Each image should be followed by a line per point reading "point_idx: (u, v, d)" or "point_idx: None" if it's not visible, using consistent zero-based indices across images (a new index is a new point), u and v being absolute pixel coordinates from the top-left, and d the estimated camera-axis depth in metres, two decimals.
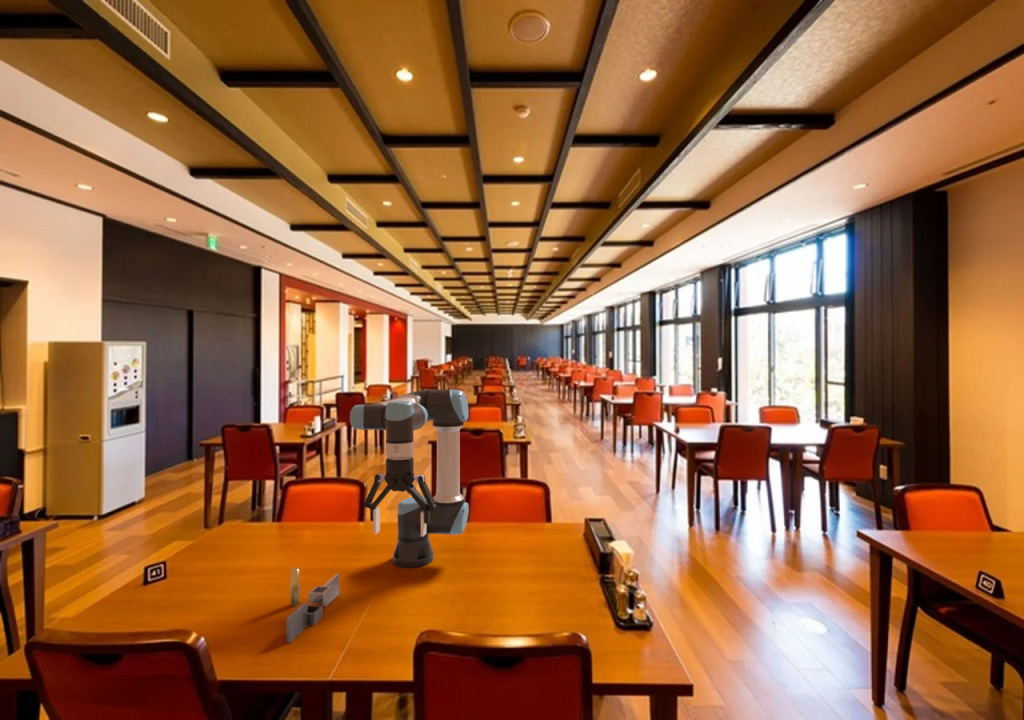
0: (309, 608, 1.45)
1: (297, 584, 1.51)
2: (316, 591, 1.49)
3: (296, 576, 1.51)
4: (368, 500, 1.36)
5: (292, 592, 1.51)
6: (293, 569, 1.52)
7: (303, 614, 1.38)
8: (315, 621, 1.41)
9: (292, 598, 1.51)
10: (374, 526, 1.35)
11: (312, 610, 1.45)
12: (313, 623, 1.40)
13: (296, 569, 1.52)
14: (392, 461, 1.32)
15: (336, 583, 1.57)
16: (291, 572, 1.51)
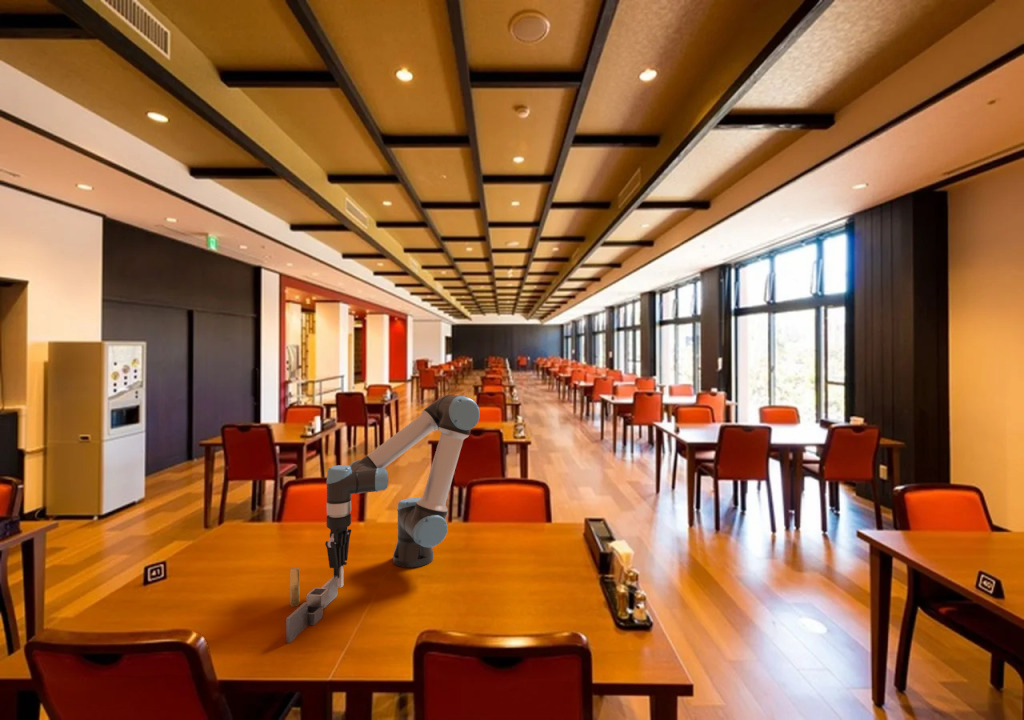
0: (309, 608, 1.45)
1: (297, 584, 1.51)
2: (314, 593, 1.48)
3: (296, 576, 1.51)
4: None
5: (292, 592, 1.51)
6: (293, 569, 1.52)
7: (303, 614, 1.38)
8: (315, 621, 1.41)
9: (292, 598, 1.51)
10: None
11: (312, 610, 1.45)
12: (313, 623, 1.40)
13: (296, 569, 1.52)
14: None
15: (334, 585, 1.55)
16: (291, 572, 1.51)
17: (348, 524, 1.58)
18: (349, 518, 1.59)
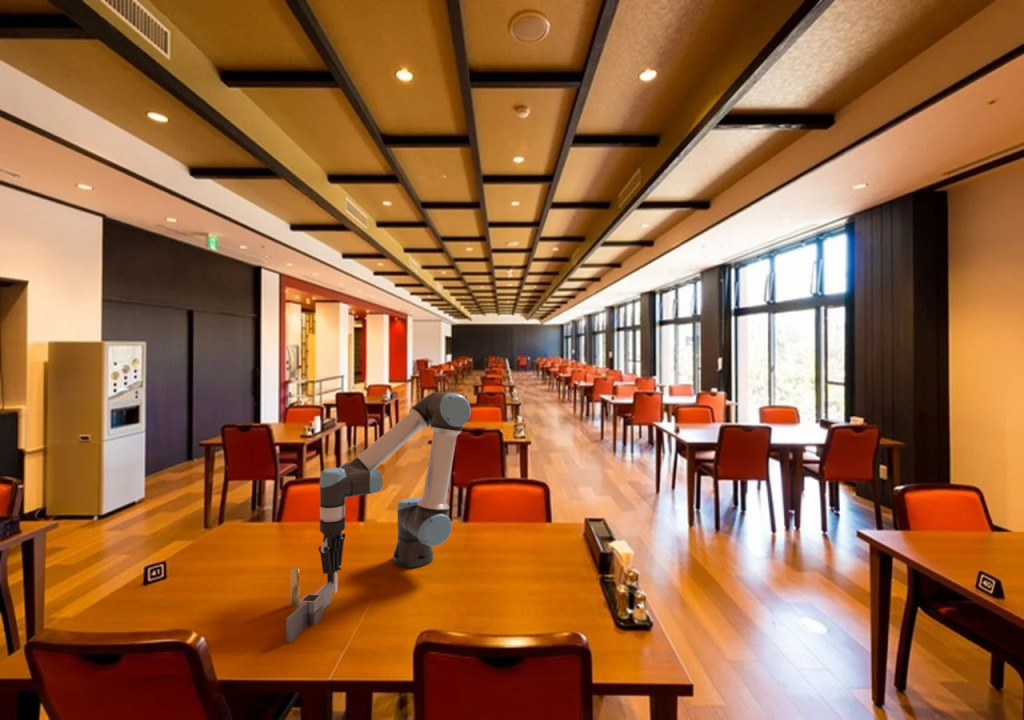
0: None
1: (297, 584, 1.51)
2: (307, 599, 1.44)
3: (296, 576, 1.51)
4: None
5: (292, 592, 1.51)
6: (293, 569, 1.52)
7: (303, 614, 1.38)
8: (315, 621, 1.41)
9: (292, 598, 1.51)
10: None
11: None
12: (313, 623, 1.40)
13: (296, 569, 1.52)
14: None
15: (328, 590, 1.52)
16: (291, 572, 1.51)
17: (342, 528, 1.54)
18: (343, 522, 1.55)
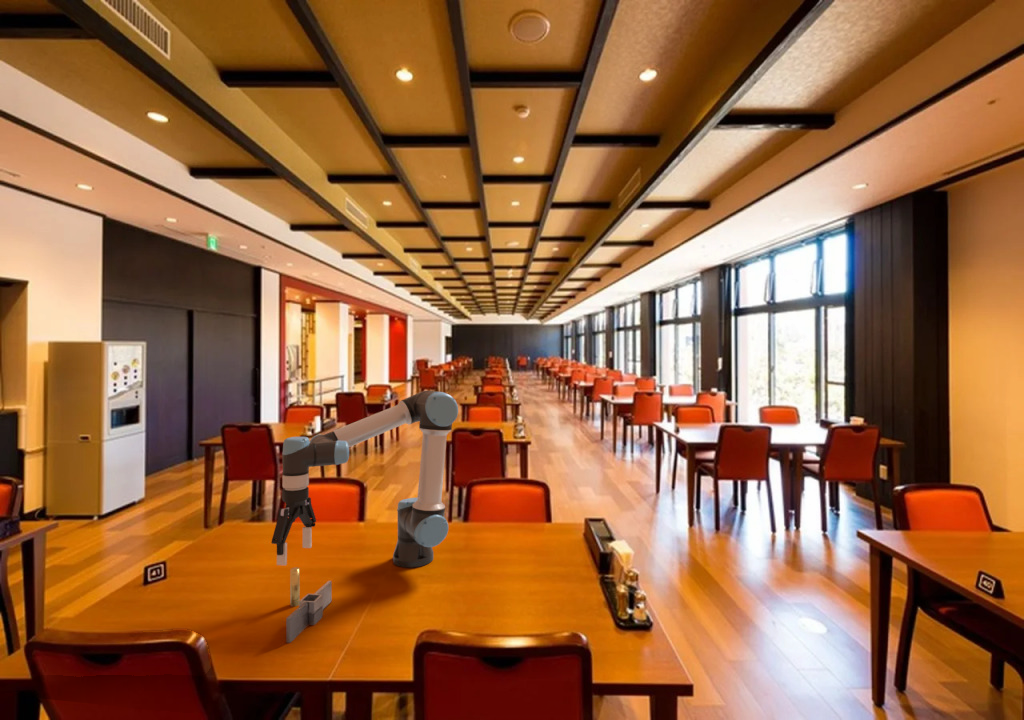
0: None
1: (297, 584, 1.51)
2: (307, 599, 1.44)
3: (297, 576, 1.51)
4: None
5: (292, 592, 1.51)
6: (293, 569, 1.52)
7: (303, 614, 1.38)
8: (315, 621, 1.41)
9: (292, 598, 1.51)
10: None
11: None
12: (313, 623, 1.40)
13: (296, 569, 1.52)
14: None
15: (328, 590, 1.52)
16: (291, 572, 1.51)
17: (305, 498, 1.51)
18: (306, 492, 1.51)
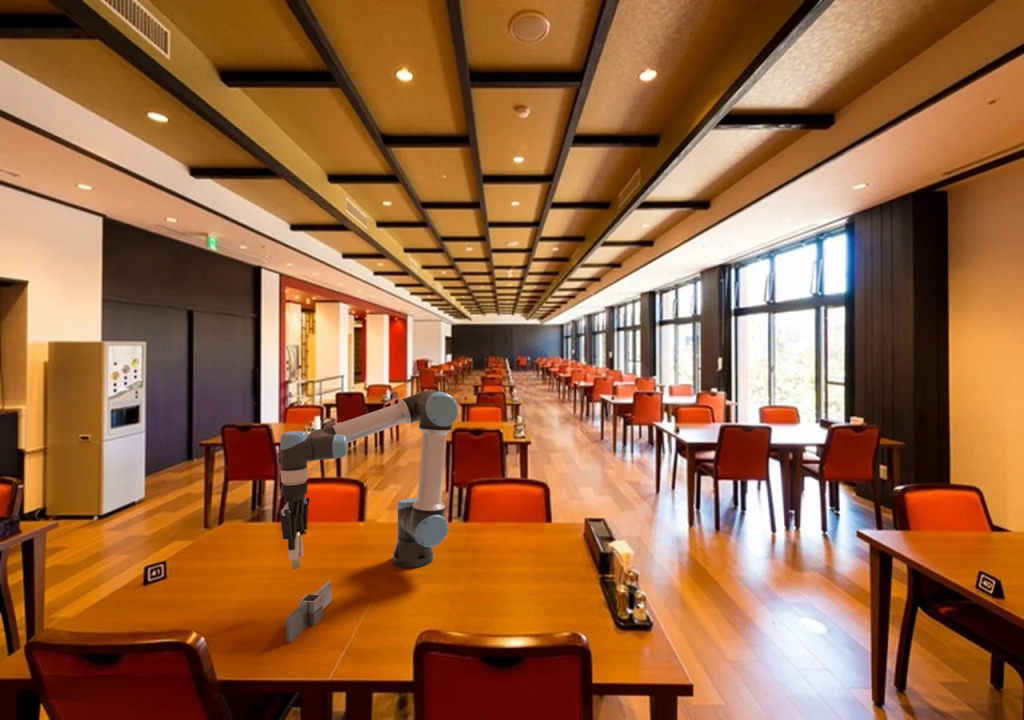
0: None
1: (298, 547, 1.51)
2: (307, 599, 1.44)
3: None
4: None
5: None
6: None
7: (303, 614, 1.38)
8: (315, 621, 1.41)
9: (293, 561, 1.51)
10: None
11: None
12: (313, 623, 1.40)
13: (297, 532, 1.52)
14: None
15: (328, 590, 1.52)
16: None
17: (304, 492, 1.51)
18: (305, 486, 1.51)
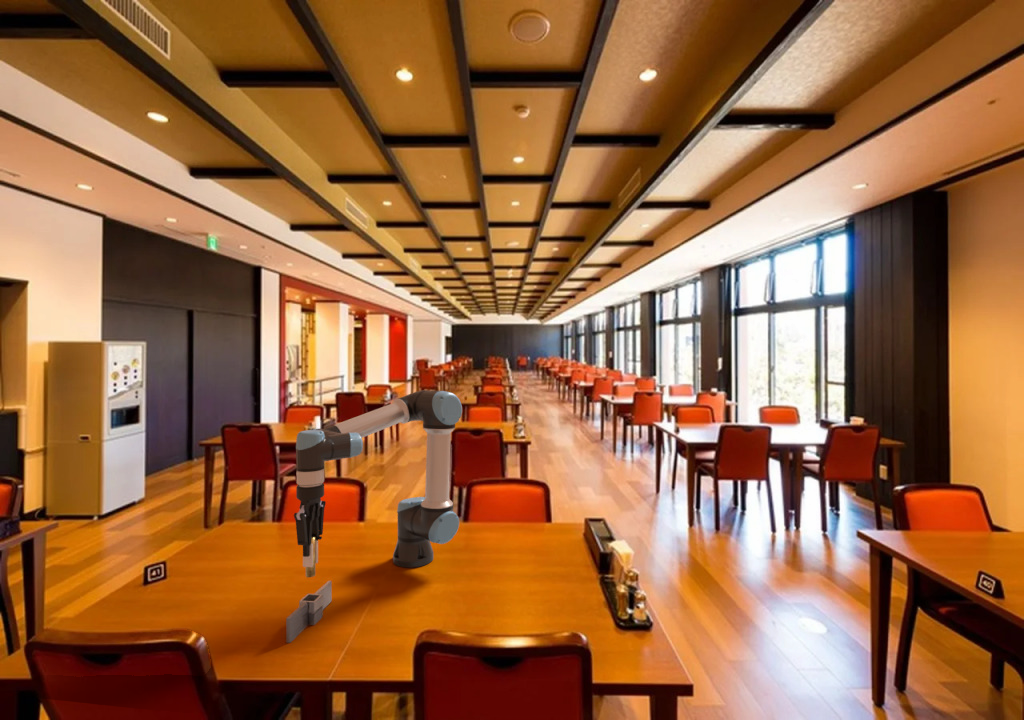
0: None
1: (313, 554, 1.42)
2: (307, 599, 1.44)
3: None
4: None
5: None
6: None
7: (303, 614, 1.38)
8: (315, 621, 1.41)
9: (308, 568, 1.41)
10: None
11: None
12: (313, 623, 1.40)
13: (312, 538, 1.42)
14: None
15: (328, 590, 1.52)
16: None
17: (321, 495, 1.42)
18: (322, 488, 1.42)
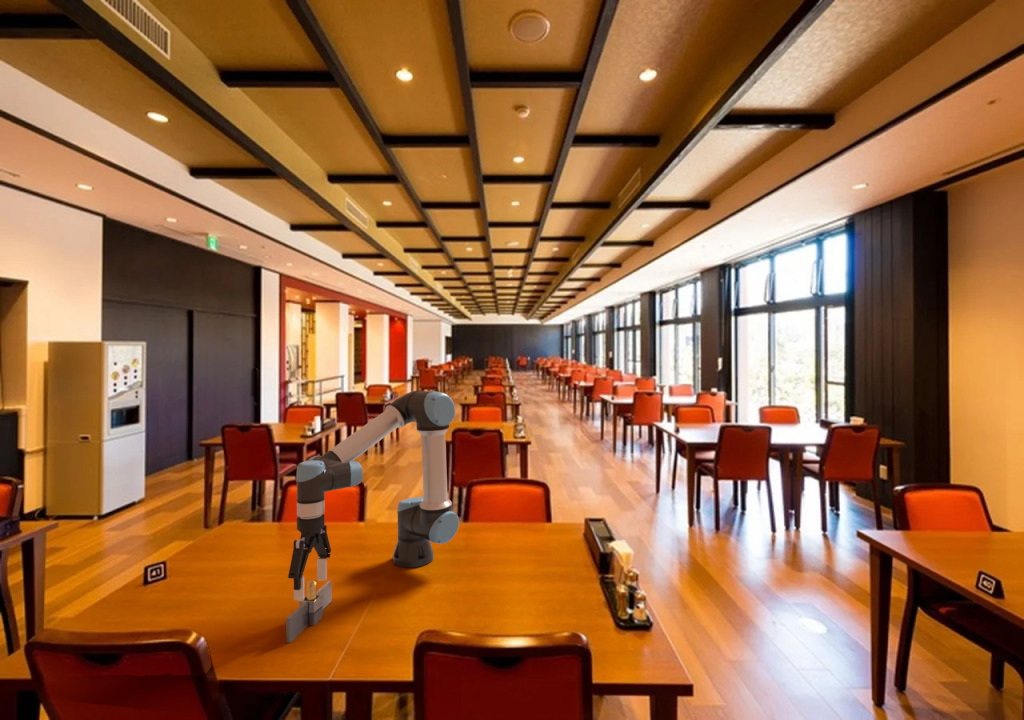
0: None
1: (314, 599, 1.42)
2: None
3: (314, 590, 1.42)
4: None
5: None
6: (310, 582, 1.43)
7: (303, 614, 1.38)
8: (315, 621, 1.41)
9: None
10: None
11: None
12: (313, 623, 1.40)
13: (313, 582, 1.43)
14: None
15: (328, 590, 1.52)
16: (308, 585, 1.42)
17: (321, 526, 1.41)
18: (322, 519, 1.42)
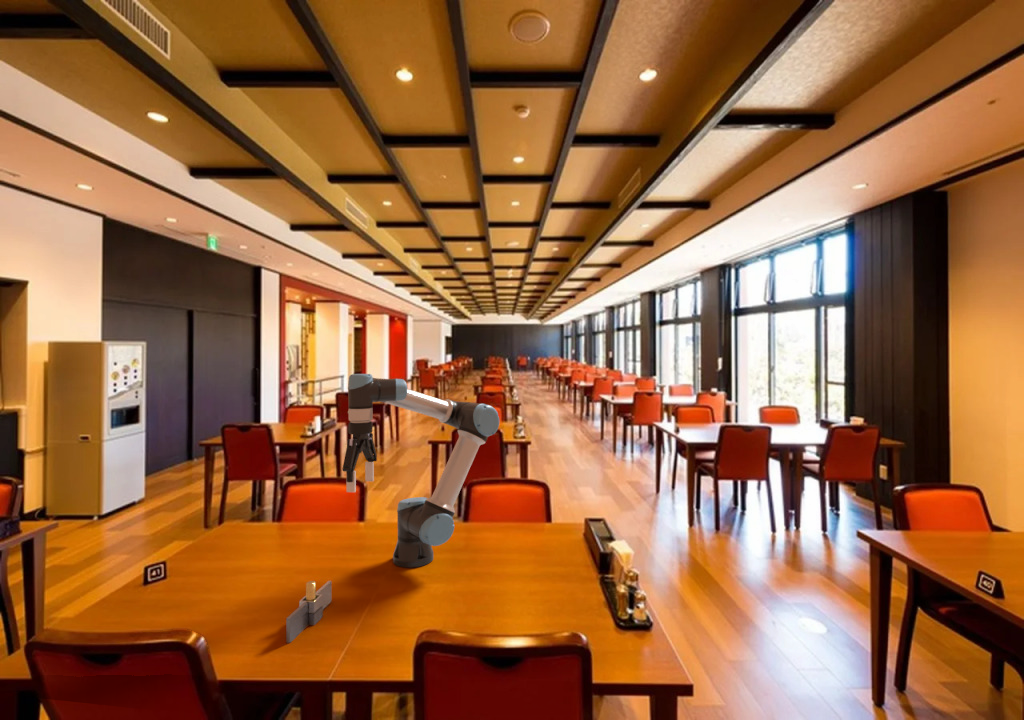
0: None
1: (314, 599, 1.42)
2: None
3: (313, 591, 1.42)
4: None
5: None
6: (309, 583, 1.42)
7: (303, 614, 1.38)
8: (315, 621, 1.41)
9: None
10: None
11: None
12: (313, 623, 1.40)
13: (312, 583, 1.42)
14: None
15: (328, 590, 1.52)
16: (307, 586, 1.41)
17: (370, 430, 1.58)
18: (371, 425, 1.59)
